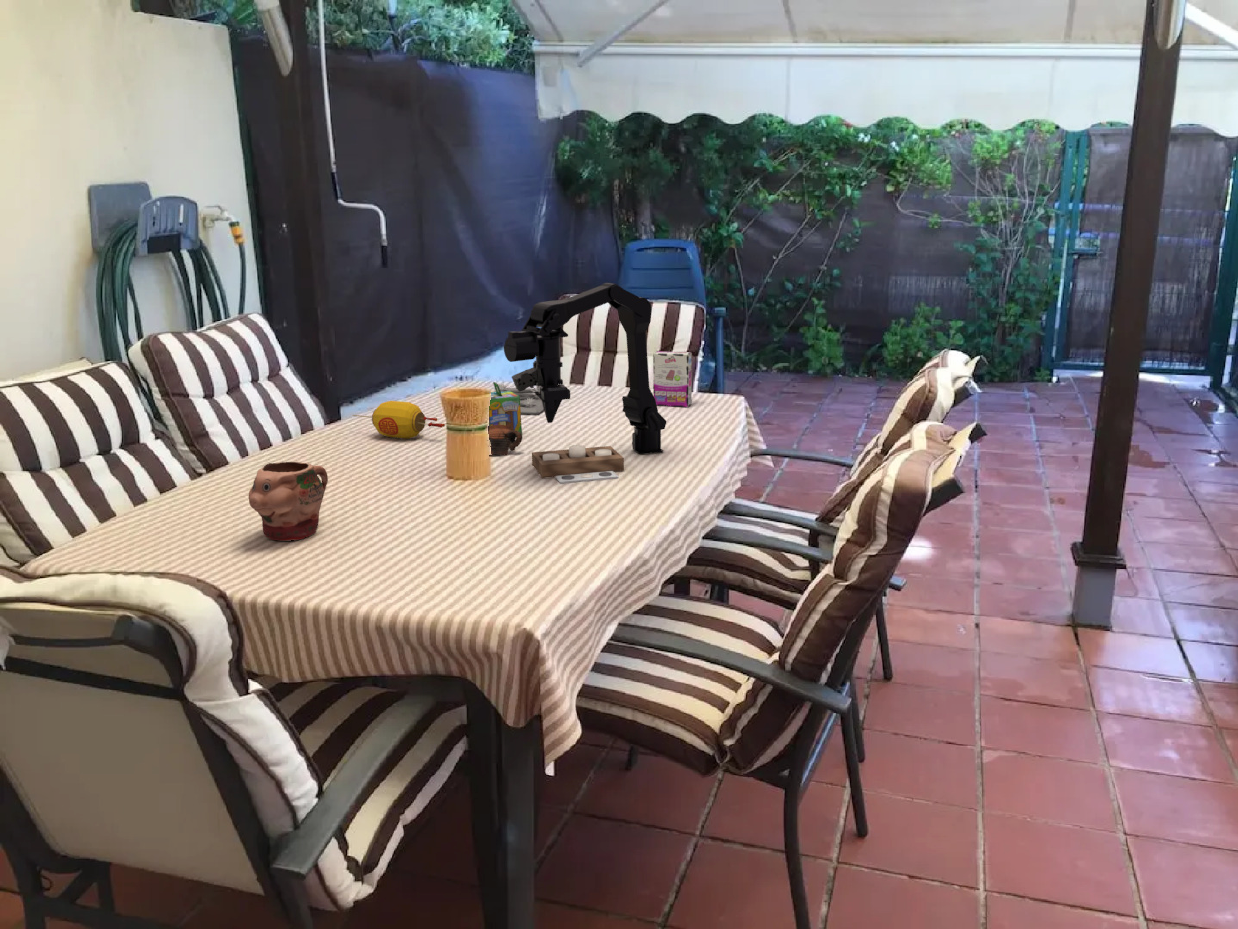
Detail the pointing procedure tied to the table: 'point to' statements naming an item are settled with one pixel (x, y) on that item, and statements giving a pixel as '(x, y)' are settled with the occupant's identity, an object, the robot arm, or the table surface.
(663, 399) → the candy bar box
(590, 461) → the button board
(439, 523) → the table surface
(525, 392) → the decorative plate
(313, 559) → the table surface
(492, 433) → the pottery mug
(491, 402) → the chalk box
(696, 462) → the table surface
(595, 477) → the card
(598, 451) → the button
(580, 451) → the button middle
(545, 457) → the button
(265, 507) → the pink animal face cup
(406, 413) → the lantern
